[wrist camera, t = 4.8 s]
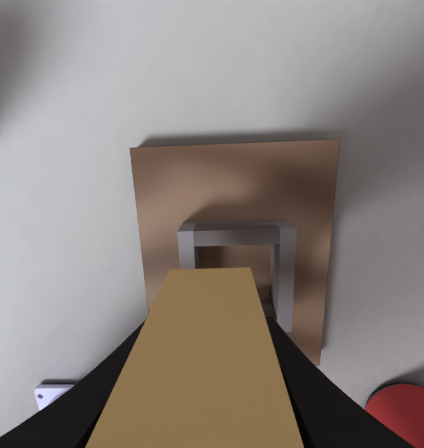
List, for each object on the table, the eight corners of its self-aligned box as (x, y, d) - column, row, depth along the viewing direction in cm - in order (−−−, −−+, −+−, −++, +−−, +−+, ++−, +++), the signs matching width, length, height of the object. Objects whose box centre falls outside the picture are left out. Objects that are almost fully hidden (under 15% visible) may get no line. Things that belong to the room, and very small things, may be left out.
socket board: (313, 354, 21) (333, 393, 17) (158, 355, 22) (145, 393, 18) (331, 141, 17) (361, 134, 13) (135, 148, 17) (113, 144, 14)
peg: (250, 336, 13) (299, 610, 5) (176, 337, 13) (109, 604, 5) (250, 267, 12) (311, 472, 4) (170, 269, 12) (74, 470, 4)
